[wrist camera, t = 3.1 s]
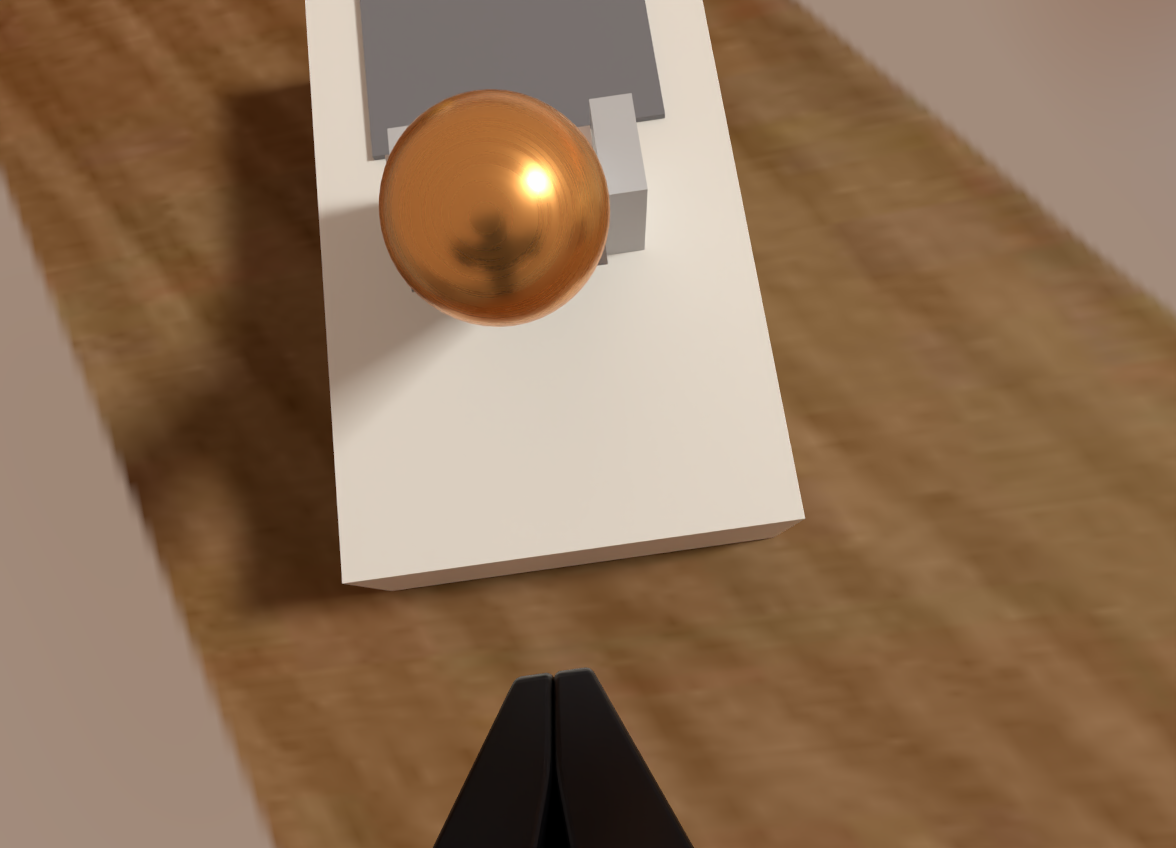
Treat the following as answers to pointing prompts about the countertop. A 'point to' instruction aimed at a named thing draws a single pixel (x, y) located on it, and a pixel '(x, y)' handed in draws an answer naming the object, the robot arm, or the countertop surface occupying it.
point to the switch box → (561, 339)
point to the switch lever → (494, 207)
